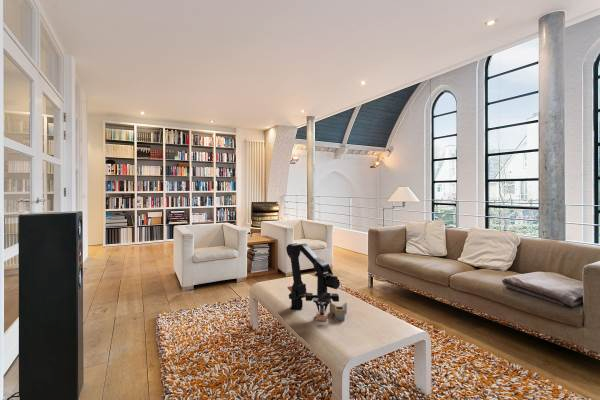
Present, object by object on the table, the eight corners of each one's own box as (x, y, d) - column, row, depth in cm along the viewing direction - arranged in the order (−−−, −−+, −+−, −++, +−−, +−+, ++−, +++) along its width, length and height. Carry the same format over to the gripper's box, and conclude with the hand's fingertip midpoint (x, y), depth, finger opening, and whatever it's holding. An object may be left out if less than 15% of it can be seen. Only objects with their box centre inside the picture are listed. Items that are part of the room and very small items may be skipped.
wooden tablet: (312, 297, 207) (312, 295, 207) (298, 299, 204) (298, 297, 203) (298, 286, 232) (298, 283, 232) (285, 287, 228) (285, 285, 228)
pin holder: (316, 320, 170) (316, 315, 170) (316, 315, 176) (316, 311, 176) (327, 320, 170) (327, 316, 170) (326, 316, 176) (326, 311, 176)
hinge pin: (318, 319, 172) (318, 304, 171) (318, 316, 175) (318, 302, 175) (325, 319, 172) (325, 304, 171) (324, 316, 175) (325, 302, 175)
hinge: (330, 320, 171) (330, 309, 170) (329, 312, 182) (329, 302, 181) (349, 320, 170) (349, 310, 170) (346, 312, 181) (346, 302, 181)
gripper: (305, 289, 165) (305, 317, 166) (340, 290, 164) (339, 318, 165) (305, 282, 176) (305, 309, 177) (338, 283, 176) (337, 310, 176)
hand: (321, 312), depth 173 cm, fingers closed on hinge pin, 3 cm apart
